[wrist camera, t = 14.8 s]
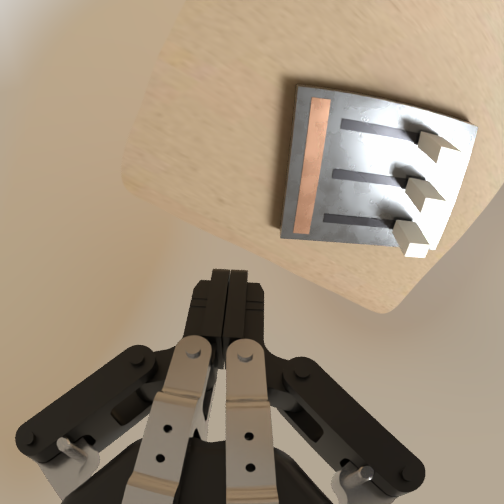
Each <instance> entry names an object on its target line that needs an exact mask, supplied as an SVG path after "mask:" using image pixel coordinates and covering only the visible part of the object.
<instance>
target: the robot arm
mask: <svg viewBox="0 0 504 504" xmlns="http://www.w3.org/2000/svg"><path fill="white" fill-rule="evenodd" d="M247 278H248V271H246V270H231V274H230V270H226V269H213V271H212V277H211V281H209V280H200V281H199V283H198V284H197V285H196V286H195V288H194V290H193V295H192V300H191V303H190V308H189V312H188V317H187V321H186V326H185V331H184V335H183V338H182V339H181V340H180V341H179V342H178V343H177V345H176V346H174V347H172V348H170V349H167V350H161V351H156V352H153V351H152V350H151V349H150V348H148V347H146V346H143V345H134V346H132V347H129V348H127V349H126V350H125V351H124V352H122V353H120V354H119V355H118V356H116V357H115V358H114V359H112V360H111V361H109V362H108V363H107V364H105V365H104V366H103V367H101V368H100V369H98V370H97V371H96V372H94V373H93V374H92V375H90V376H89V377H87V378H86V379H85V380H84V381H82V382H81V383H79V384H78V385H76V386H75V387H74V388H72V389H71V390H70V391H68V392H67V393H66V394H64V395H63V396H61V397H60V398H58V399H57V400H56V401H54V402H53V403H51V404H50V405H49V406H47V407H46V408H45V409H43V410H42V411H41V412H39V413H38V414H36V415H35V416H33V417H32V418H31V419H29V420H28V421H27V422H25V423H24V424H22V425H21V426H20V427H19V428H18V430H17V432H16V437H15V439H16V445H17V447H18V449H19V450H20V452H22V453H23V454H24V455H26V456H28V457H29V458H31V459H32V460H34V461H35V462H36V463H37V464H38V465H39V467H40V468H41V470H42V471H43V473H44V475H45V476H46V478H47V479H48V481H49V482H50V484H51V485H52V487H53V488H54V490H55V491H56V493H57V494H58V496H59V497H60V498H61V500H62V503H61V504H333V503H332V502H331V501H330V500H329V499H328V498H327V497H326V495H325V494H324V493H323V492H322V491H321V490H320V489H319V488H318V487H317V486H316V484H315V483H314V482H313V481H312V480H311V479H310V478H309V477H308V475H307V474H306V473H305V472H304V471H303V470H302V469H301V468H300V467H299V465H298V464H297V463H296V462H295V461H294V460H293V459H292V458H291V457H290V456H289V455H287V454H286V453H285V452H283V451H281V450H279V449H277V448H275V447H273V436H272V424H271V411H270V406H273V407H276V408H277V410H278V411H279V412H280V413H281V414H282V416H283V417H285V419H286V420H287V421H288V422H289V423H290V424H291V425H292V427H293V428H294V429H295V430H296V431H297V432H298V433H299V434H300V435H301V436H302V437H303V438H304V439H305V440H306V441H307V443H308V444H309V445H310V446H311V447H312V448H313V449H314V450H315V451H316V452H317V453H318V454H319V455H320V456H321V457H322V458H323V459H324V460H325V461H326V462H327V463H328V464H329V465H330V466H331V467H332V468H333V469H334V470H335V471H336V473H335V474H334V476H333V478H332V481H331V486H332V489H333V491H334V493H335V494H336V495H337V498H338V500H339V504H391V503H392V502H393V501H394V500H395V499H396V498H397V497H399V496H401V495H404V494H407V493H409V492H412V491H414V490H416V489H417V488H418V487H420V486H421V484H422V483H423V481H424V478H425V467H424V465H423V463H422V462H421V461H420V460H419V459H418V458H417V457H416V456H415V455H414V454H413V453H412V452H410V451H409V450H408V449H407V448H406V447H405V446H404V445H402V443H400V442H399V441H398V440H397V439H396V438H395V437H394V436H393V435H392V434H391V433H390V432H388V431H387V430H386V429H385V428H384V427H383V426H382V425H381V424H380V423H379V422H378V421H377V420H376V419H375V418H373V417H372V416H371V415H370V414H369V413H368V412H367V411H366V410H365V409H364V408H363V407H362V406H361V405H360V404H359V403H357V402H356V401H355V400H354V399H353V398H352V397H351V396H350V395H349V394H348V393H347V392H346V391H345V390H344V389H342V387H341V386H340V385H338V384H337V382H336V381H334V380H333V379H332V378H331V377H330V376H329V375H328V374H327V373H326V372H325V371H324V370H323V369H322V368H321V367H320V366H319V365H318V364H317V363H316V362H315V361H313V360H311V359H310V358H307V357H295V358H293V359H291V360H286V359H282V358H279V357H277V356H275V355H273V354H271V353H270V352H269V351H268V350H267V348H266V347H265V345H264V340H263V339H264V336H263V335H264V291H263V289H262V287H261V285H260V283H248V282H247ZM224 361H225V369H226V440H225V441H219V442H207V434H208V421H209V417H210V411H211V407H212V401H213V396H214V391H215V386H216V379H217V371H218V369H223V367H224ZM149 413H150V414H149ZM148 414H149V417H148V421H147V425H146V428H145V431H144V435H143V438H141V439H139V440H137V441H135V442H134V443H132V444H131V445H129V446H128V447H127V448H126V449H124V450H123V451H122V452H121V453H120V454H119V455H117V456H116V457H115V458H114V459H112V460H111V461H110V462H109V463H108V464H106V465H105V466H104V467H103V468H102V469H100V470H99V471H98V472H97V473H95V474H94V475H93V476H92V477H91V475H92V474H93V472H94V471H95V470H96V469H97V468H98V466H99V463H100V456H99V452H100V451H102V450H103V449H104V448H106V447H107V446H108V445H110V444H111V443H112V442H114V441H115V440H116V439H118V438H119V437H120V436H121V435H123V434H124V433H125V432H127V431H128V430H129V429H130V428H132V427H133V426H134V425H136V424H137V423H138V422H139V421H141V420H142V419H143V418H144V417H146V416H147V415H148Z"/></svg>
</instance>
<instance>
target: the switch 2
mask: <svg viewBox="0 0 504 504" xmlns="http://www.w3.org/2000/svg"><path fill="white" fill-rule="evenodd" d="M417 147H418V148H419V149H420V150H421V151H422V152H423V153H425V154H426V155H427V156H428V157H429V158H430V159H431V160H432V161H434V162H435V163H436V164H438V165H442V166H447V167H451V168H455V169H458V168H459V165H460V161H461V158H462V155H463V152H462V151H461V150H459V149H458V148H457V147H455V146H454V145H453V144H451V143H450V142H449V141H447V140H446V139H445V138H443V137H442V136H438V135H434V134H430V133H426V132H422V131H421V134H420V138H419V142H418V146H417Z"/></svg>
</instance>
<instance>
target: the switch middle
mask: <svg viewBox="0 0 504 504" xmlns="http://www.w3.org/2000/svg"><path fill="white" fill-rule="evenodd" d="M405 193H406V194H407V196H408V197H409V198H410V200H411V201H412V203H413V204H414V205H415V207H416V208H417V209H418V211H419V212H420V214H427V215H434V216H442V214H443V211H444V209H445V206H446V203H447V201H446V199H445V198H444V197H443V196H442V195H441V194H440V193H439V192H438V190H437V189H436V188H435V187H434V186H433V185H432V184H431V183H430V182H429V181H425V180H420V179H414V178H409V179H408V183H407V186H406V189H405Z"/></svg>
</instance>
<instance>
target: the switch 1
mask: <svg viewBox="0 0 504 504" xmlns="http://www.w3.org/2000/svg"><path fill="white" fill-rule="evenodd" d="M392 233H393V235H394V237H395V239H396V241H397V243H398V245H399V247H400V249H401V251H402V253H403V255H404V256H405V257H419V258H425V256H426V254H427V251H428V249H429V247H430V243H429V242H428V240H427V239H426V237H425V235H424V234H423V232H422V231H421V229H420V228H419V226H418V225H417V223H416V222H412V221H404V220H396V222H395V225H394V228H393V231H392Z"/></svg>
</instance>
